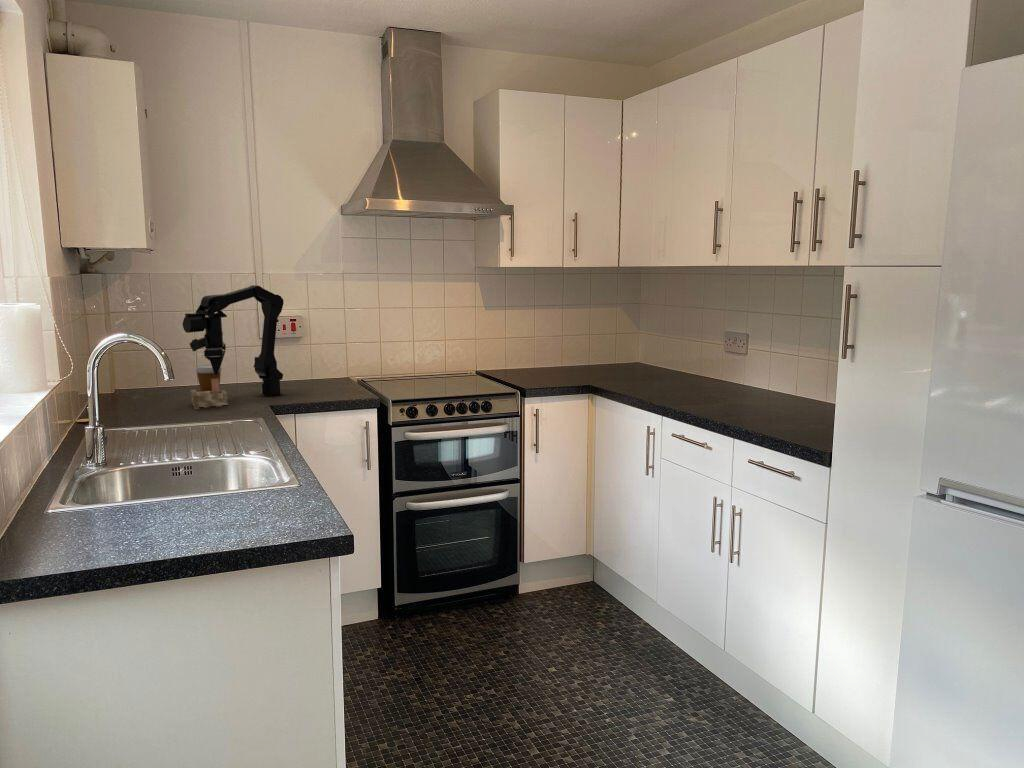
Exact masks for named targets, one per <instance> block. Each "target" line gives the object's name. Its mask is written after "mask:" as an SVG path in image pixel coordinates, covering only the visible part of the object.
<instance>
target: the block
mask: <svg viewBox="0 0 1024 768" xmlns="http://www.w3.org/2000/svg"><path fill="white" fill-rule="evenodd" d="M219 391H220V393H215V394H212V391H203V392H201V391H196V392H197V394H198V400H199V407H204V408H211V407H210V406H216V407H223V406H222V405H229V403H228V402H229V401H228V393H227V391H226V390H225V389H220V390H219Z"/></svg>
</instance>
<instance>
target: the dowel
mask: <svg viewBox="0 0 1024 768" xmlns="http://www.w3.org/2000/svg"><path fill="white" fill-rule="evenodd" d="M211 383H212V394H215V393H220V391H219V379H217V378H215V379H211Z"/></svg>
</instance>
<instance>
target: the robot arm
mask: <svg viewBox="0 0 1024 768" xmlns="http://www.w3.org/2000/svg"><path fill="white" fill-rule="evenodd" d="M252 298H254V299H255V301H257V302H259V303H260V304H261V311H262V314H263V318H264V319H263V329H262V339H261V347H260V348H261V349H260V354H259V355H258V356H255V357H254V359H253V360H254V364H253V368H254V372H255V373H256V374H257V375H258V377H259V379H260V380H262V381H261V383H260V389H261V390H260V391H261V395H263V396H264V397H272V396H282V392H281V381H283V377H284V374H283V373H282V371H280V370H279V369H278V364H277V363H278V362H277V360H276V356H275V348H276V337H277V327H278V318H279V317H280V314H281V313H282V310H283V306H284V303H285V302H284V298H283V297H282V296H281V295H279V294H274V293H273V292H271V291H269V290H267V289H265V288H263V287H262V286H260V285H255V284H252V285H250V286H248V287H244V288H241V289H237V290H233V291H231V292H227V293H223V294H210V295H204V296H203V297H202V298H201V300H200V305H199V306H198V307H197V309H196V311H195V312H194V313H188V312H187V313H185V314H184V315H185V316H184V318H183V320H182V327H183V330H184V332H185V333H187V334H188V333H198V332H204V331H205V333H204V335H203V337H201V338H198V339H197V338H194V339H192V340H191V342H189V346H190V349H191V350H192V352H196V351H198V350H199V349H203V348H205V349H204V351H203V354H204V355H203V356H204V358H205V359H206V360H208V361H209V363H210V365H212V368H213V371H214V374H218V371H219V370H220V367H221V368H222V363H223V360H224V356H225V354H226V351H227V347H226V343H225V342H224V338H223V335H224V332H223V323H222V318H227V316H228V315H227V314H226V313H224V312H223V310H224V309H226V308H227V307H229V306H230V305H232V304H236V303H239V302H241V301H246V300H249V299H252Z"/></svg>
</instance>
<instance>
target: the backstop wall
mask: <svg viewBox="0 0 1024 768" xmlns="http://www.w3.org/2000/svg"><path fill="white" fill-rule="evenodd" d="M197 392H198V391H197V390H196V389H190V393H191V397H190V398H191V404H192V407H193V406H194V407H193V408H194V410H195V409H197V410H200V408H199V400H198V394H197Z"/></svg>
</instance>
